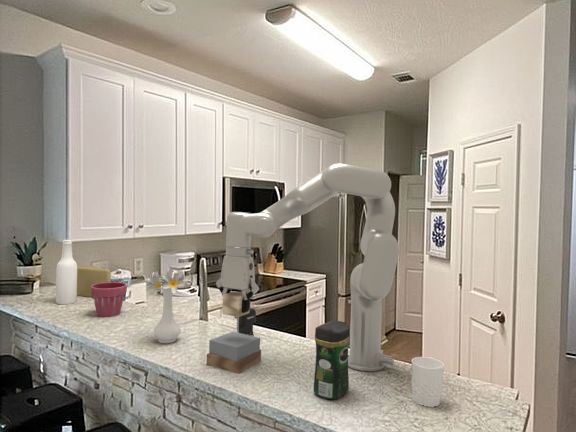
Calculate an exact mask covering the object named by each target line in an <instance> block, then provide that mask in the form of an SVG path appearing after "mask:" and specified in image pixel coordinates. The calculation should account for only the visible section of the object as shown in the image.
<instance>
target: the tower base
mask: <svg viewBox="0 0 576 432" xmlns="http://www.w3.org/2000/svg"><path fill="white" fill-rule="evenodd" d="M260 361H262V349H261V348H260V351H258V352H256V353H254V354H252V355H249V356H247V357H245V358H243V359H241V360H239V361H234V360H231V359H227V358H224V357H221V356H217V355H214V354H211V353H209V352H208V353H206V366H208V367H211V368H216V369H219V370H223V371H227V372H231V373H236V374H241V373H243V372H244V371H246V370H247V369H250V367H253V366H255V365H256V364H258V363H259V362H260Z"/></svg>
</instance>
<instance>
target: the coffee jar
mask: <svg viewBox="0 0 576 432" xmlns="http://www.w3.org/2000/svg"><path fill="white" fill-rule="evenodd" d="M314 333H315V335H314V341H315V365H314V367H315V368H314V377H313V392H314V394H315V395H316V396H318V397H320V398H322V399H324V400H325V399H326V400H327V399H328V400H337V399H340V398H341V397H343V396H344V395H345V394H346V393H347V392H348V391H349V389H350V387H349V386H350V385H349V384H350V383H349V381H350V380H349V379H350V378H349V366H348V355H349V346H350V326H349V325H348V324H347V322H345V321H340V320H337V319H333V320H330V321H328V322H325V323H323V324H320V325H318V326H316V327H315V332H314Z"/></svg>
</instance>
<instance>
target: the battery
mask: <svg viewBox="0 0 576 432" xmlns="http://www.w3.org/2000/svg"><path fill="white" fill-rule="evenodd" d="M254 323H257V312H256V309H255V308H253V307H250V312H249V313H248V314H245V315H243V316H240V317H236V332H238V333H242V334H246V335H250V336H254V337H255V335H254Z"/></svg>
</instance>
